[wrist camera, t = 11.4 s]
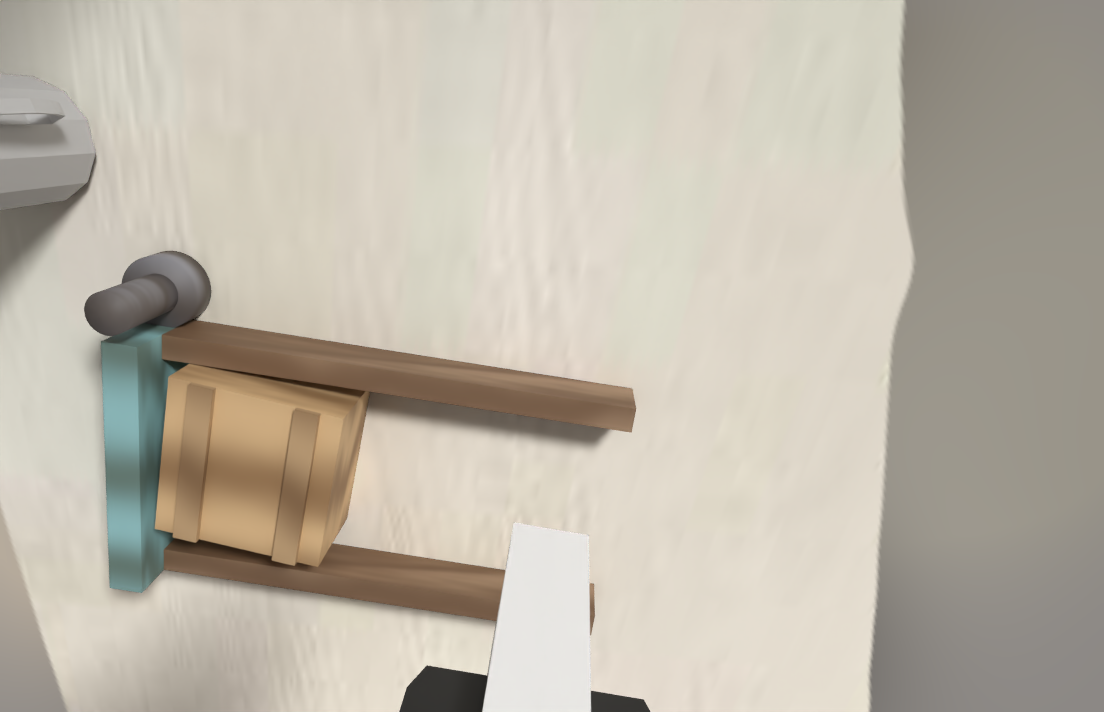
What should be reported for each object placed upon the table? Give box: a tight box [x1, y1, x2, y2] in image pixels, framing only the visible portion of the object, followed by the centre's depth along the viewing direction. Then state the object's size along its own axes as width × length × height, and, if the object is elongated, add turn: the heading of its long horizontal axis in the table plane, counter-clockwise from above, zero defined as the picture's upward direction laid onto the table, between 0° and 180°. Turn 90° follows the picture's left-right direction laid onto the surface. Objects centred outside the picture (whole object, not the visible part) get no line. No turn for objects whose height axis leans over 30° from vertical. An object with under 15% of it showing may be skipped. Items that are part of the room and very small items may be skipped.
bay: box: [84, 251, 636, 635], centre depth 45 cm, size 20×31×7 cm, turn 81°
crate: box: [155, 364, 370, 567], centre depth 46 cm, size 10×10×6 cm
